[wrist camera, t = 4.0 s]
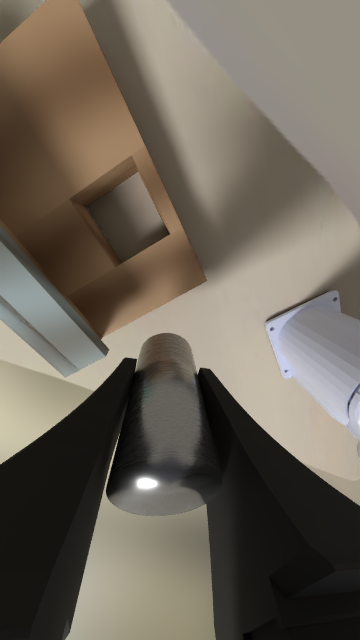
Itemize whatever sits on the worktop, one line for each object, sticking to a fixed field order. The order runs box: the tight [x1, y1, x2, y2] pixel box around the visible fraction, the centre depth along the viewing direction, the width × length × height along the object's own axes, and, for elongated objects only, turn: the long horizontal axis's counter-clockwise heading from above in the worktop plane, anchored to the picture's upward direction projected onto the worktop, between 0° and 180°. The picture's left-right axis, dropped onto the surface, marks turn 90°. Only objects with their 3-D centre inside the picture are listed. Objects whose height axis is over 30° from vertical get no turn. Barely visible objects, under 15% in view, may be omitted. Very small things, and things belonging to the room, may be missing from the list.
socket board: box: [0, 0, 207, 377], centre depth 11 cm, size 16×12×7 cm
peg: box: [106, 333, 222, 516], centre depth 8 cm, size 4×4×7 cm
